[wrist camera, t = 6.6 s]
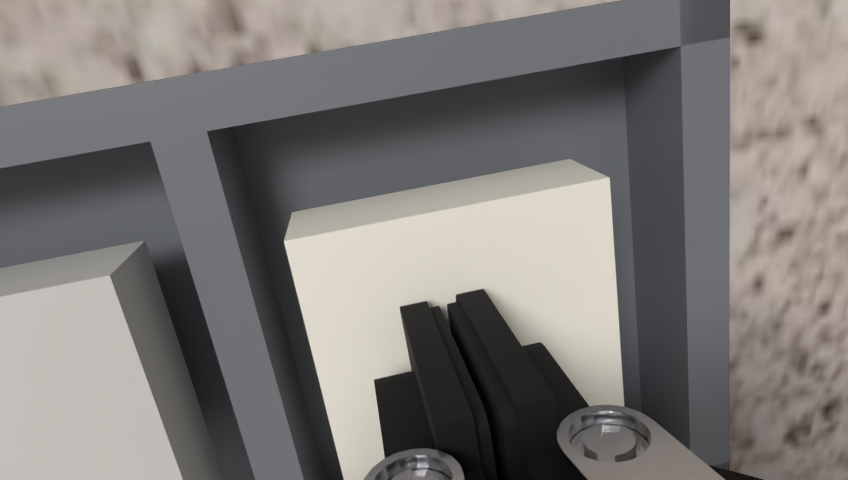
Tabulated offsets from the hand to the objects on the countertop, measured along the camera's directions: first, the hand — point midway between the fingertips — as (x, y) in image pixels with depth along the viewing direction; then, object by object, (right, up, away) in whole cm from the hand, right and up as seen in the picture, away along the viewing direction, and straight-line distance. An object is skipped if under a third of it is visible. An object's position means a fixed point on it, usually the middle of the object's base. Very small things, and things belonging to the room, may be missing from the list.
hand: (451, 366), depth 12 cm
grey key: (-9, -1, +1) cm, 9 cm away
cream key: (0, +1, +2) cm, 2 cm away
